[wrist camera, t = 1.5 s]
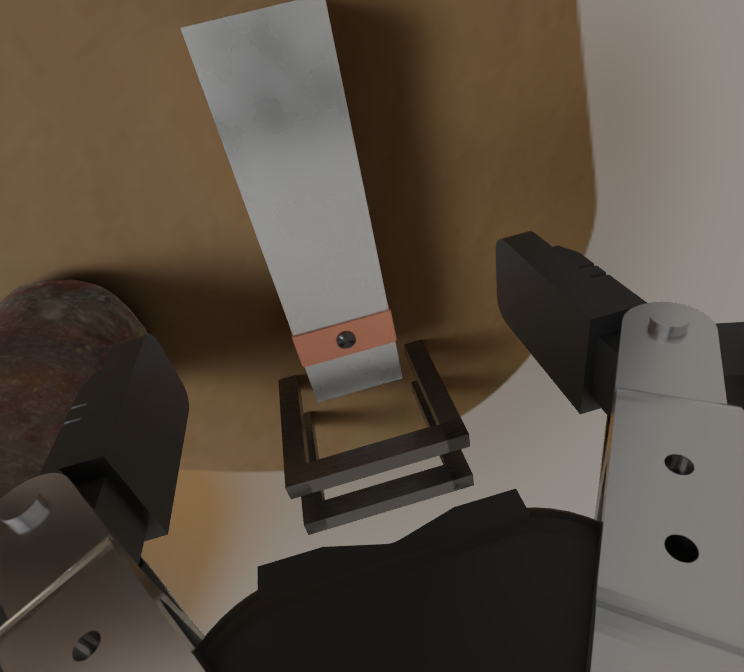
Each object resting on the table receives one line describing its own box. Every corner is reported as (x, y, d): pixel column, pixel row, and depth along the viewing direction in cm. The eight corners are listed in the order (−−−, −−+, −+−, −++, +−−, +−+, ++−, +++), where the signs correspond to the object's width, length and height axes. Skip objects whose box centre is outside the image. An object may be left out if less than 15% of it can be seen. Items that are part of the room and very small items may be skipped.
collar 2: (293, 416, 33) (303, 525, 26) (427, 378, 34) (472, 474, 27) (297, 425, 34) (308, 534, 27) (429, 388, 34) (473, 485, 27)
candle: (-37, 292, 24) (-647, 881, 8) (99, 244, 24) (-224, 730, 8) (62, 395, 28) (-191, 901, 12) (177, 354, 28) (74, 805, 12)
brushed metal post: (193, 25, 20) (176, 28, 16) (312, -4, 20) (327, -8, 16) (307, 351, 30) (316, 405, 26) (384, 329, 31) (405, 380, 26)
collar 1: (278, 380, 31) (285, 488, 24) (421, 340, 32) (469, 434, 25) (282, 391, 32) (291, 499, 25) (423, 351, 32) (470, 446, 25)
